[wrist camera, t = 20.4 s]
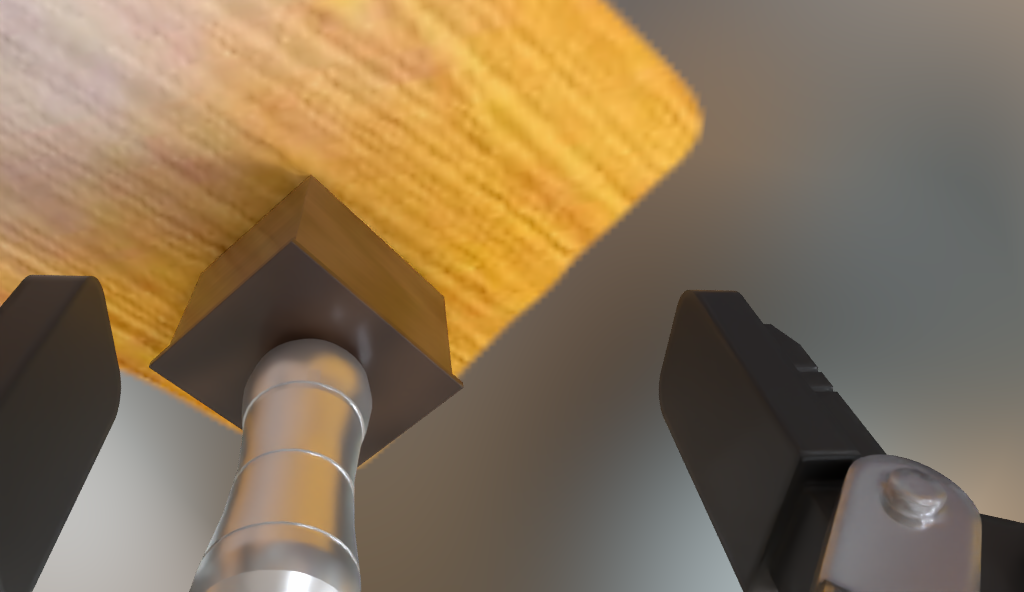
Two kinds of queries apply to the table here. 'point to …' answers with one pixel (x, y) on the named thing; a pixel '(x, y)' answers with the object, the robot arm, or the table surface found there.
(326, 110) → the table surface
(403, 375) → the cabinet
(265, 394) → the silver metal bottle
